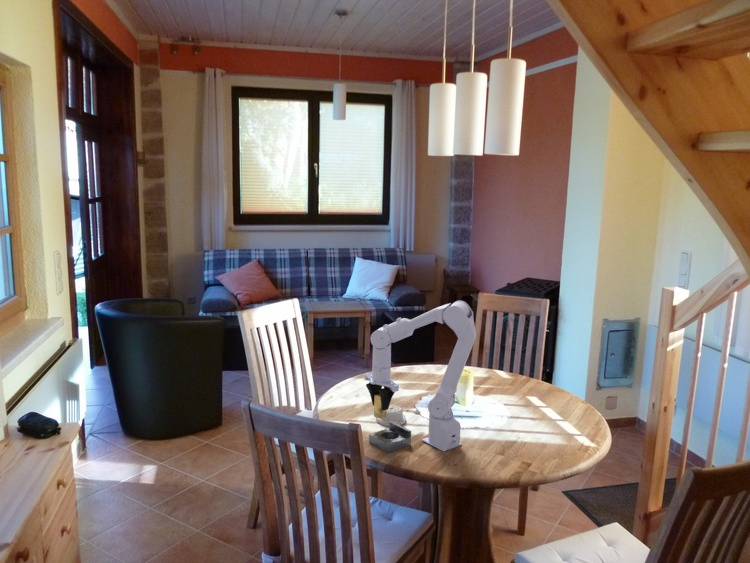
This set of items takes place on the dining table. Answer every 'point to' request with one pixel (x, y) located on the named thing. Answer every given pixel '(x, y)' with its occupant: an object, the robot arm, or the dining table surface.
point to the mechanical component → (393, 416)
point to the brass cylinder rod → (378, 407)
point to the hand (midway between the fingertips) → (380, 407)
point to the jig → (391, 437)
